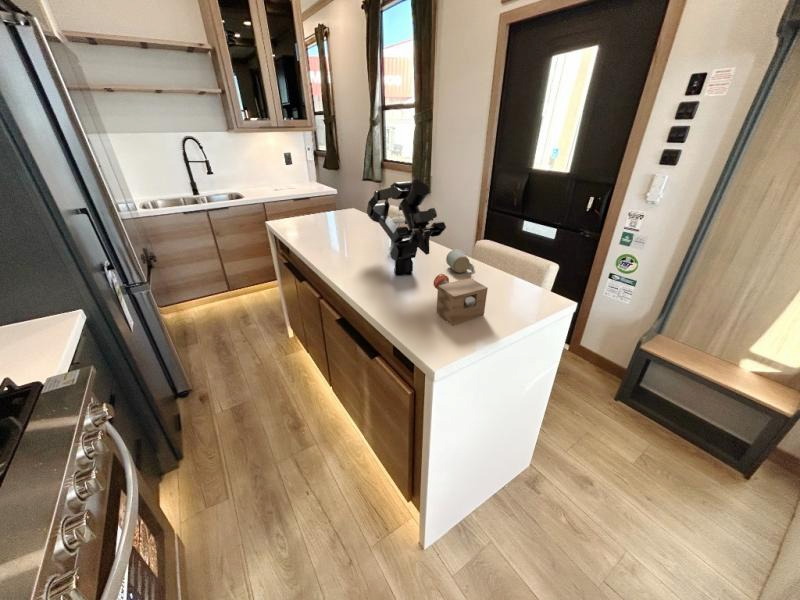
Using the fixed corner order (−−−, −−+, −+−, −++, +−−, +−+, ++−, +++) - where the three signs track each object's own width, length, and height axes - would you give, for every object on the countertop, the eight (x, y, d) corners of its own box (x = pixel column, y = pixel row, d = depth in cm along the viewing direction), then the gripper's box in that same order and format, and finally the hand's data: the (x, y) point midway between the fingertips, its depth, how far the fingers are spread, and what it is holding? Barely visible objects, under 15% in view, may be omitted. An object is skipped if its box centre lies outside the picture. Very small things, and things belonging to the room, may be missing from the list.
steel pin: (433, 290, 104) (433, 275, 102) (446, 287, 106) (447, 272, 104) (463, 312, 92) (465, 296, 89) (477, 308, 94) (479, 292, 91)
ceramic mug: (452, 274, 125) (454, 256, 121) (445, 267, 132) (446, 249, 128) (477, 272, 127) (480, 254, 124) (468, 265, 134) (470, 247, 131)
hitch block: (436, 313, 99) (437, 285, 94) (467, 304, 104) (470, 277, 99) (451, 325, 93) (454, 296, 88) (483, 315, 97) (487, 287, 93)
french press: (393, 253, 147) (392, 197, 135) (384, 245, 157) (383, 192, 145) (412, 250, 151) (413, 195, 139) (402, 243, 160) (402, 191, 148)
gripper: (395, 202, 100) (412, 246, 96) (445, 197, 107) (462, 238, 104) (385, 222, 109) (400, 262, 106) (431, 216, 117) (446, 253, 114)
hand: (427, 253), depth 107 cm, fingers closed
